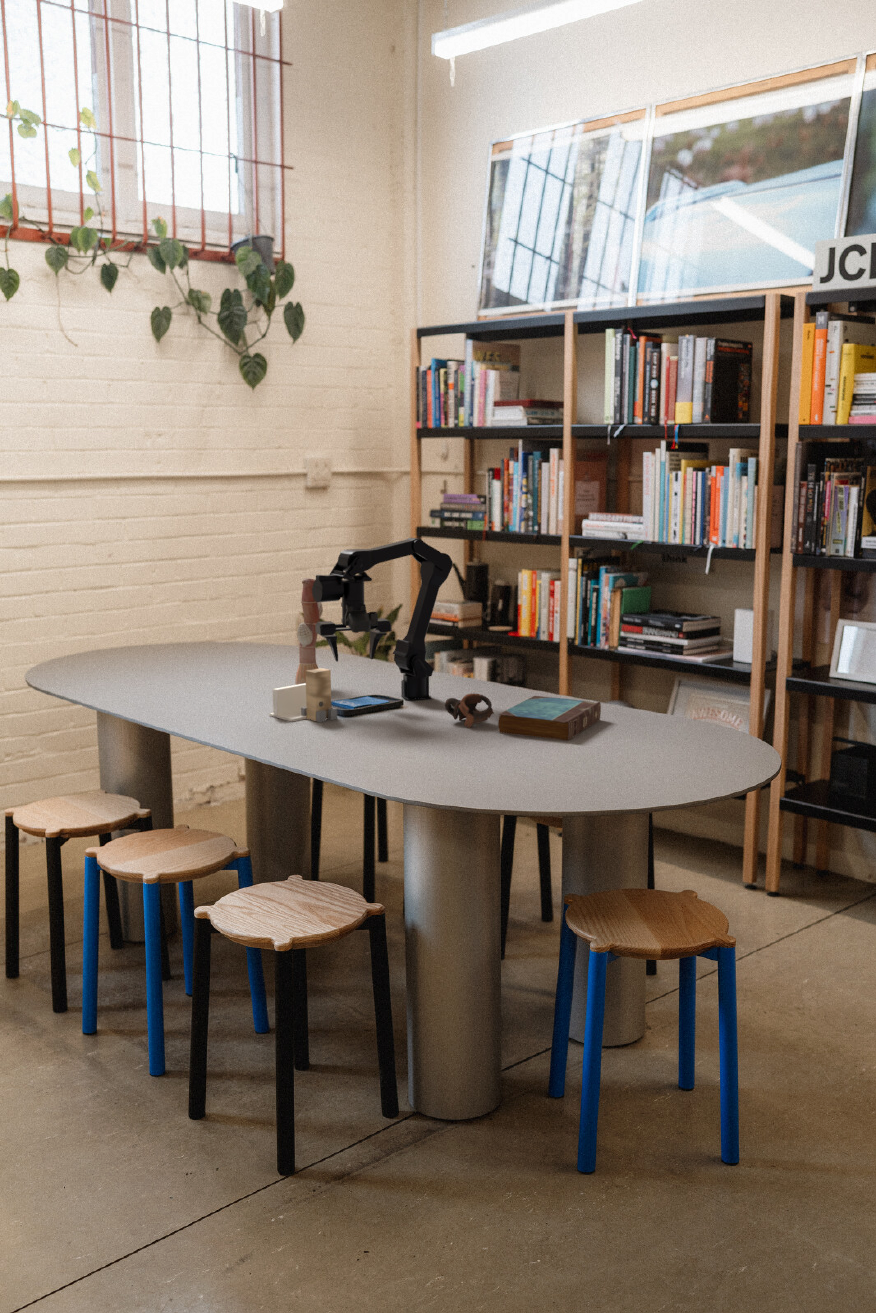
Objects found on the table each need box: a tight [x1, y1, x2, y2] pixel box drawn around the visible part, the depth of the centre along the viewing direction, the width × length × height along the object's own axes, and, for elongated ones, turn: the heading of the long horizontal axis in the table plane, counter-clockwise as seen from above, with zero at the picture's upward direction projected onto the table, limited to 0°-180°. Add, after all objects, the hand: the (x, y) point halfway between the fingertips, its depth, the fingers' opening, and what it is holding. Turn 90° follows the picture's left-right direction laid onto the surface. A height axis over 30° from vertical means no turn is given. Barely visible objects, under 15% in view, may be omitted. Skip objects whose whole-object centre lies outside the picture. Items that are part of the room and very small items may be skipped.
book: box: [497, 695, 602, 742], centre depth 280 cm, size 23×18×5 cm
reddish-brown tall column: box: [294, 577, 324, 685], centre depth 328 cm, size 10×7×30 cm
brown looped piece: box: [444, 693, 494, 729], centre depth 283 cm, size 12×10×8 cm
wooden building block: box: [306, 667, 332, 722], centre depth 289 cm, size 5×4×12 cm
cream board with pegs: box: [268, 683, 338, 723], centre depth 292 cm, size 14×14×7 cm
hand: (354, 660), depth 301 cm, fingers open, 9 cm apart
